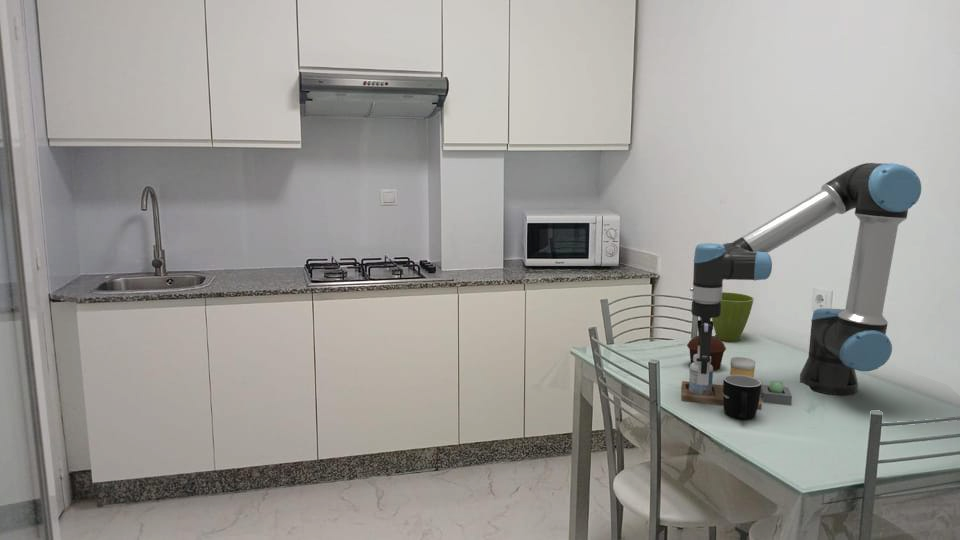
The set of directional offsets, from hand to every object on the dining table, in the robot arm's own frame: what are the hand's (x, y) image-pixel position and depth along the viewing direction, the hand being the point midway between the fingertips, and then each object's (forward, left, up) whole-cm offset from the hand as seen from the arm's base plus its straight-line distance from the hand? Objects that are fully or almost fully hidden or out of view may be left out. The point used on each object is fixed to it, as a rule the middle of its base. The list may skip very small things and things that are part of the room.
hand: (702, 376), depth 180 cm
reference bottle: (-10, 0, -5) cm, 11 cm away
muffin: (-2, -29, -7) cm, 30 cm away
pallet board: (-5, 0, -6) cm, 8 cm away
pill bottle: (0, 0, -6) cm, 6 cm away
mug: (-9, +13, -7) cm, 17 cm away
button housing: (-19, -3, -6) cm, 21 cm away
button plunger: (-19, -3, -4) cm, 20 cm away
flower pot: (-11, -65, -7) cm, 67 cm away
